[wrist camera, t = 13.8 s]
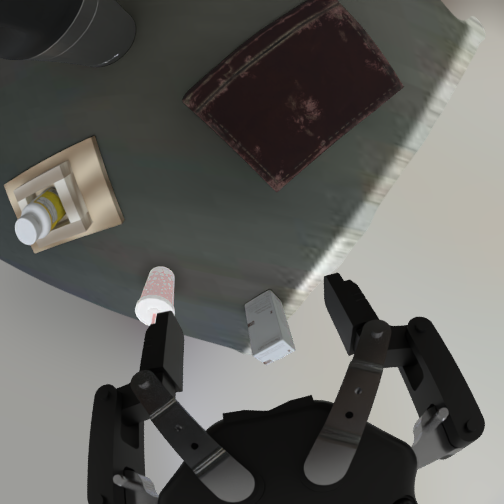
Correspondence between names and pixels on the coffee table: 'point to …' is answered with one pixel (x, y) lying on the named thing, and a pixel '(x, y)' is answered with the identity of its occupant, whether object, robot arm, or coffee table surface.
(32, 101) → the coffee table surface
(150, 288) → the beverage cup
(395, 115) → the coffee table surface
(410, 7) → the coffee table surface
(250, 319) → the skincare box
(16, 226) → the supplement bottle
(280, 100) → the diary
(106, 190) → the socket board
